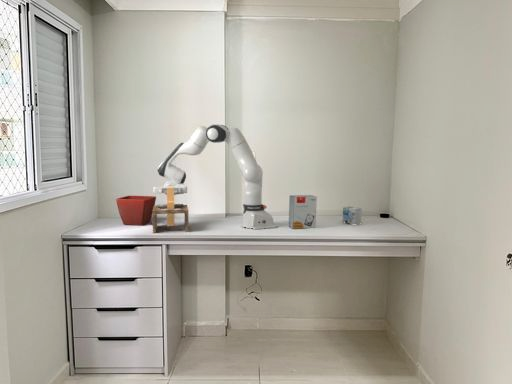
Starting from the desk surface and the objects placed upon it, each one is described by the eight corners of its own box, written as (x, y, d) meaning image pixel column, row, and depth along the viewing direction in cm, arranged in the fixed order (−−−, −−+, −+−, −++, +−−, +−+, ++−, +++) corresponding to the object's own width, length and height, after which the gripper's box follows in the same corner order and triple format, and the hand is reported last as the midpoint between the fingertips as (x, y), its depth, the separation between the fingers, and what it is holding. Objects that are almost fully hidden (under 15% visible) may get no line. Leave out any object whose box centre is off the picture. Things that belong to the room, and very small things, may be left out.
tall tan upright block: (174, 222, 230) (173, 186, 227) (174, 225, 218) (173, 188, 216) (167, 222, 229) (167, 186, 226) (167, 226, 217) (166, 188, 215)
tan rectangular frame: (187, 225, 236) (186, 201, 234) (188, 231, 216) (188, 206, 215) (154, 226, 231) (153, 202, 230) (152, 233, 212) (152, 207, 210)
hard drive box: (292, 229, 227) (293, 196, 225) (288, 226, 235) (288, 195, 232) (316, 228, 231) (317, 196, 229) (311, 225, 239) (311, 194, 236)
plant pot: (157, 221, 248) (156, 195, 246) (145, 226, 229) (145, 199, 227) (129, 220, 250) (128, 195, 248) (116, 225, 231) (115, 199, 229)
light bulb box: (342, 222, 249) (342, 206, 248) (348, 221, 253) (349, 206, 252) (355, 225, 241) (355, 209, 240) (361, 224, 245) (362, 208, 244)
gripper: (153, 183, 231) (152, 186, 218) (186, 183, 236) (187, 185, 222) (153, 193, 232) (152, 196, 218) (186, 193, 236) (187, 196, 223)
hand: (170, 191), depth 220 cm, fingers open, 8 cm apart
